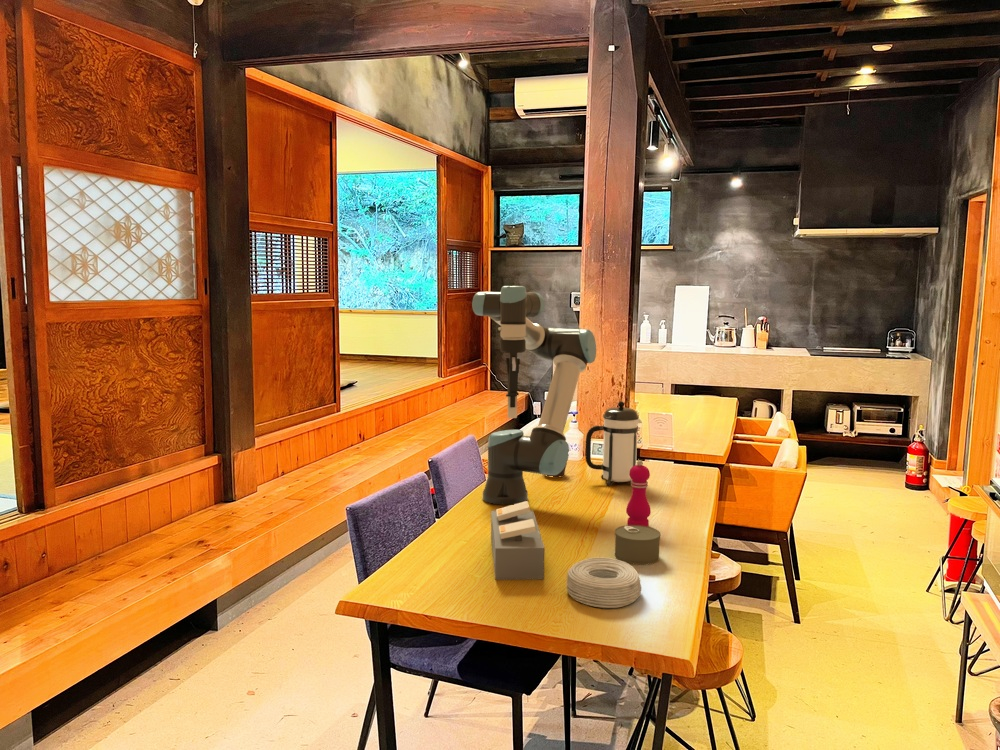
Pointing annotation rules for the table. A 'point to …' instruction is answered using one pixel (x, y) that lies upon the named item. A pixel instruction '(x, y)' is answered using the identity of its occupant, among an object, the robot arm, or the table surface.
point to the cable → (603, 582)
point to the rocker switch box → (517, 551)
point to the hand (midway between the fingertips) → (512, 417)
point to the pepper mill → (638, 496)
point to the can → (637, 544)
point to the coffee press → (616, 444)
